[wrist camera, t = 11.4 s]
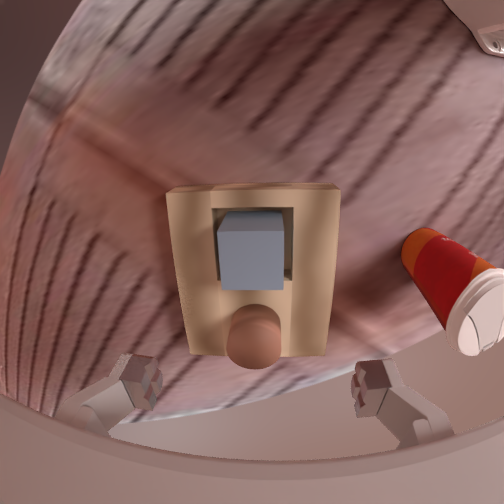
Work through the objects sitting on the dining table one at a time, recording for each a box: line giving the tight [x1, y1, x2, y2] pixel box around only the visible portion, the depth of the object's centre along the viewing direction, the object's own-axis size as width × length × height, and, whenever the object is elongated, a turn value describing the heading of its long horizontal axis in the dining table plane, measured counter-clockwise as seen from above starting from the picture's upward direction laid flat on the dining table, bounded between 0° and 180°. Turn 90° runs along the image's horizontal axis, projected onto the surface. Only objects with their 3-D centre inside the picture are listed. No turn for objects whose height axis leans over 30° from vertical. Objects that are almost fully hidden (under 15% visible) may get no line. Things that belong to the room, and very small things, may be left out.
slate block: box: [217, 210, 284, 290], centre depth 26 cm, size 5×5×6 cm
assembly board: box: [166, 183, 341, 369], centre depth 28 cm, size 15×18×8 cm
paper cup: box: [401, 228, 504, 356], centre depth 23 cm, size 8×8×14 cm
